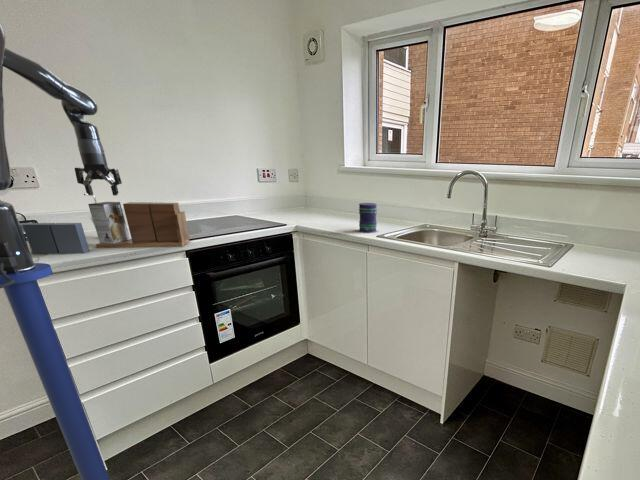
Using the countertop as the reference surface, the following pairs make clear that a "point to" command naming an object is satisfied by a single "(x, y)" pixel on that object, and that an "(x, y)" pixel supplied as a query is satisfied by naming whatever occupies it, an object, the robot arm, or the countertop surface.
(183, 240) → the wooden rack
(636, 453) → the countertop surface
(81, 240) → the grey book
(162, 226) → the box
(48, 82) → the robot arm
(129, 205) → the box
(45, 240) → the grey book
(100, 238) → the coffee box
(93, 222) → the cup with straw
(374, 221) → the storage jar
